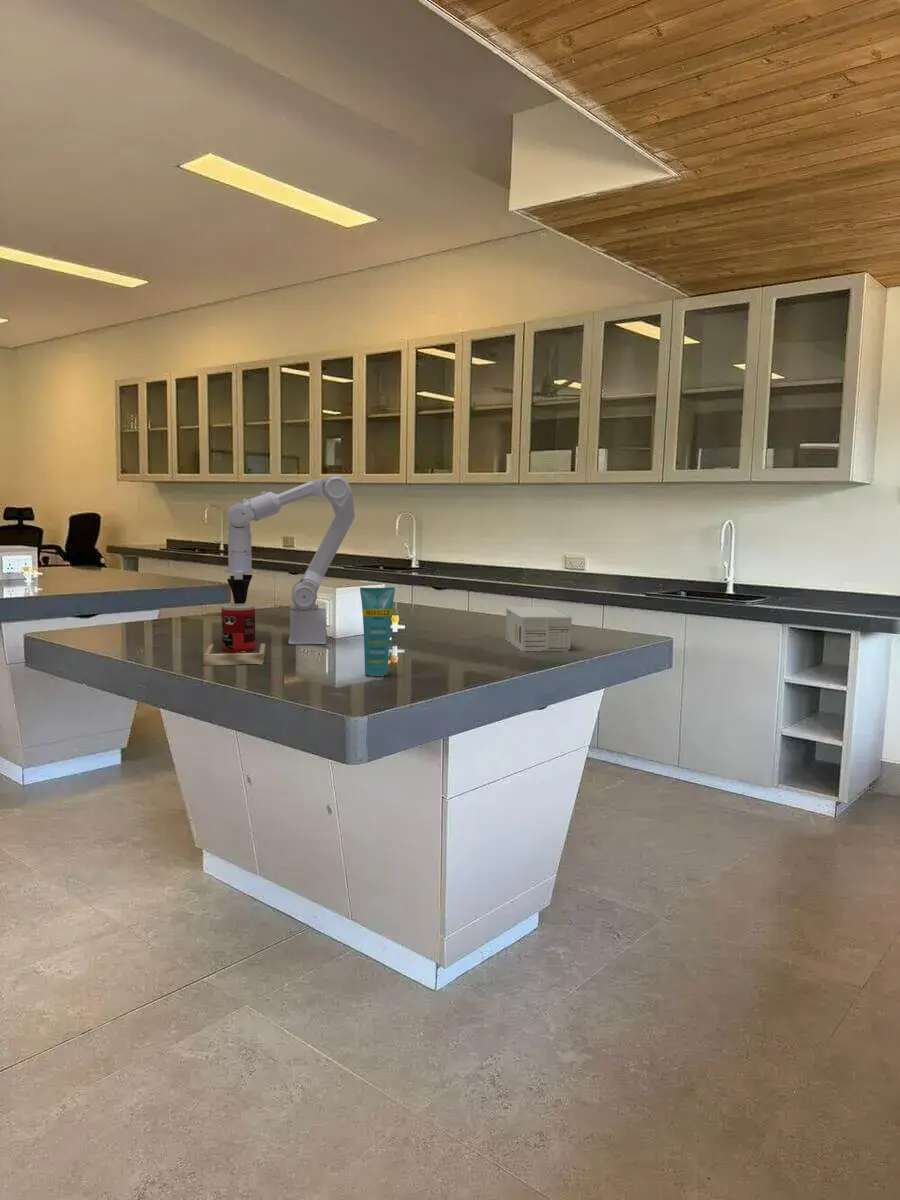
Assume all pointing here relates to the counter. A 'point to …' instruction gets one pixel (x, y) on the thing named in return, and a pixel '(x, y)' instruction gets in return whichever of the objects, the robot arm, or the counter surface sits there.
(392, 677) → the counter surface
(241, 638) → the canned food
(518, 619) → the supplement box
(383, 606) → the tube
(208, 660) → the bracket
